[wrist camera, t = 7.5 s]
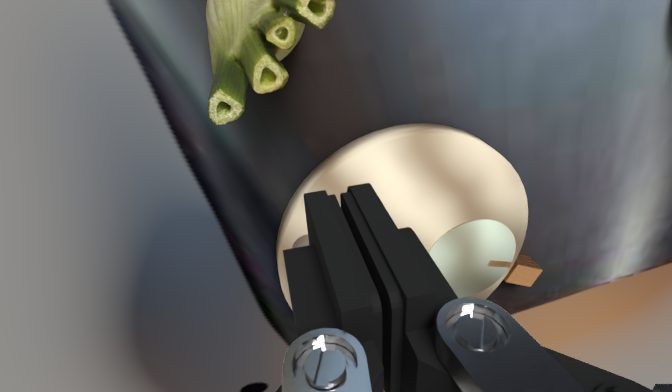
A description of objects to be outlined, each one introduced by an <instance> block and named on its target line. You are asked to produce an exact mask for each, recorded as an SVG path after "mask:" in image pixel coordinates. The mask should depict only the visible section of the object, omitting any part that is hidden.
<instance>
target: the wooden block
mask: <svg viewBox="0 0 672 392" xmlns="http://www.w3.org/2000/svg"><path fill="white" fill-rule="evenodd" d="M541 272H542V269H541V268H540V267H539V266H538V265H537V264H536V263H535V262H534V261H533V260H532V259H531V258H530V257H529V256H526V255H522V254H518V256H517V258H516V260H515V262H514V264H513V266H512V267H511V269H510V271H509V272H508V274H507V275H506V277H505V278H504V281H505V282H508V283H513V284H519V285H524V286H529V287H531V285H532V284H533V283H534V281H535V280H536V279H537V277H538V276H539V274H540V273H541Z"/></svg>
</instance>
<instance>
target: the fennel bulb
mask: <svg viewBox="0 0 672 392" xmlns="http://www.w3.org/2000/svg"><path fill="white" fill-rule="evenodd" d="M335 7H336V6H335V0H208V1H207V6H206V20H207V27H208V40H209V47H210V55H211V63H212V69H213V74H214V77H215V78H214V82H213V85H212V88H211V92H210V95H209V98H208V112H209V118H210V119H211V120H212V122H213V123H214V124H216V125H225V124H226V123H227V122H231V121H233V120H235V121H236V120H237V119H238V118H239V117H240V116H241V115H242V114H243V112H244V110H245V100H246V93H247V87H248V84H249V81H250V84H251V86H252V88H253V89H254V90H255V92H256V93H258V94H264V93H269V92H272V91H275V90H278V89H281V88H283V87H284V85H285V84H286V82H287V81H288V78H289V75H288V73H287V70H286V69H285V68H284V65H283V64H282V63H281V62H279V61H281V60H282V59H283V58H284V57H286V56H287V55H288V54H289V53H290V52H291V51H292V49H293V48H294V47H295V46H296V44H297V43H298V41H299V40H300V38H301V36H302V33H303V30H304V27H305V24H307V25H311V26H313V27H316V28H319V29H322V28H324V27H325V26H326V25H327V23H328V22H329V20H330V19H331V18H332V17H333V15H334V11H335Z"/></svg>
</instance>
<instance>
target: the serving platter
mask: <svg viewBox="0 0 672 392" xmlns="http://www.w3.org/2000/svg"><path fill="white" fill-rule="evenodd" d="M365 183H370V184H371V185H372V187H373V189H374V190H375V192H376V194H377V195H378V197H379V198H380V200H381V202H382V203H383V205H384V207H385V208H386V210H387V211H388V213H389V215H390V216H391V218H392V220H393V221H394V223H395V225H396V226H397V228H398V229H400V228H406V227H410V228H412V230H413V231H414V232H415V233H416V235H417V236H418V238H419V239H420V241H421V242H422V244H423V245H424V247H425V249H426V250H427V252H428V253H429V255H430V256H431V258H432V259H433V261H434V262H435V264H436V265H437V267H438V268H439V270H440V271H441V273H442V274H443V276H444V277H445V279H446V280H447V282H448V283H449V285H450V286H451V288H452V289H453V291H454V292H455V294H456V295H457V297H458V298H463V297H472V298H480V299H484V300H485V299H486V298H487V297H488V296H489V295H490V294H491V293H492V292H493V291H494V290H495V289H496V288H497V287H498V286H499V284H500V283H501V282H502V280H503V279H504V278H505V277H506V275H507V274H508V272H509V271H510V269H511V267H512V266H513V264H514V262H515V260H516V258H517V256H518V254H519V252H520V250H521V247H522V244H523V241H524V238H525V234H526V229H527V223H528V204H527V197H526V193H525V189H524V186H523V184H522V182H521V180H520V177H519V175H518V174H517V172H516V171H515V169H514V168H513V167H512V165H511V164H510V163H509V162H508V161H507V160H506V159H505V158H504V157H503V156H502V155H501V154H499V153H498V152H497V151H495V150H494V149H493V148H491V147H490V146H489V145H487V144H486V143H485V142H483V141H482V140H480V139H479V138H477V137H476V136H474V135H472V134H470V133H467V132H465V131H463V130H461V129H457V128H454V127H450V126H446V125H440V124H431V123H412V124H404V125H398V126H392V127H388V128H385V129H381V130H378V131H374V132H372V133H369V134H367V135H365V136H362V137H360V138H357V139H355V140H354V141H352V142H350V143H348V144H346V145H345V146H343V147H341V148H339V149H338V150H337V151H335V152H334V153H333V154H331V155H330V156H328V157H327V158H326V159H324V160H323V161H322V162H321V163H320V164H319V165H318V166H317V167H316V168H315V169H313V170H312V171H311V172H310V174H309V175H308V176H307V177H306V178H305V179H304V181H303V182H302V183H301V184H300V185H299V187H298V188H297V190H296V191H295V193H294V194H293V196H292V198H291V199H290V201H289V203H288V205H287V207H286V209H285V211H284V214H283V216H282V219H281V223H280V226H279V229H278V236H277V243H276V255H277V264H278V271H279V277H280V282H281V288H282V291H283V293H284V296H285V298H286V301H287V302H288V304H289V306H290V307H291V309H292V304H291V299H290V293H289V287H288V281H287V275H286V268H285V262H284V256H283V250H286V249H291V248H297V247H302V246H308V245H309V239H308V230H307V222H306V213H305V204H304V193H310V192H316V191H322V190H326V192H327V194H328V195H333V194H335V196H336V198H337V200H338V202H339V205H340V207H341V202H340V194H341V193H345V192H347V187H348V186H353V185H359V184H365ZM292 311H293V310H292Z"/></svg>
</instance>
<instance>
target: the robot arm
mask: <svg viewBox="0 0 672 392" xmlns="http://www.w3.org/2000/svg"><path fill="white" fill-rule="evenodd" d="M340 202H341V207H340V205H339V202H338V200H337V198H336V196H335V194H333V195H328V194H327V192H326V190H322V191H316V192H310V193H304V204H305V213H306V222H307V230H308V239H309V245H308V246H302V247H297V248H291V249H286V250H283V256H284V262H285V268H286V275H287V281H288V287H289V293H290V299H291V304H292V310H293V316H294V321H295V327H296V333H297V339H296V340H295V341H294V342H293V343H292V344H291V345H290V347H289V349H288V350H287V352H286V354H285V358H284V362H283V370H282V385H281V386H280V387H279V389H278V390H277V391H276V392H384V391H385V392H672V384H655V386H654V388H653V390H650V389H648V388H646V387H644V386H642V385H640V384H638V383H636V382H634V381H632V380H629V379H626V378H624V377H621V376H618V375H616V374H613V373H611V372H608V371H606V370H603V369H600V368H598V367H595V366H592V365H590V364H587V363H585V362H582V361H579V360H577V359H574V358H571V357H569V356H566V355H564V354H561V353H558V352H556V351H553V350H550V349H548V348H545V347H543V346H541V345H540V344H539V343H538V342H537V341H536V340H535V339H534V338H533V337H532V336H531V335H530V334H529V333H528V332H527V331H526V330H525V329H524V328H523V327H522V326H521V325H520V324H519V323H518V322H517V321H516V320H515V319H514V318H513V317H512V316H511V315H510V314H509V313H508V312H506V311H505V310H504V309H503V308H501V307H500V306H498V305H496V304H494V303H492V302H490V301H488V300H484V299H480V298H472V297H463V298H458V297H457V295H456V294H455V292H454V291H453V289H452V288H451V286H450V285H449V283H448V282H447V280H446V279H445V277H444V276H443V274H442V273H441V271H440V270H439V268H438V267H437V265H436V264H435V262H434V261H433V259H432V258H431V256H430V255H429V253H428V252H427V250H426V249H425V247H424V245H423V244H422V242H421V241H420V239H419V238H418V236H417V235H416V233H415V232H414V231H413V230H412V228H410V227H406V228H400V229H398V228H397V226H396V225H395V223H394V221H393V220H392V218H391V216H390V215H389V213H388V211H387V210H386V208H385V207H384V205H383V203H382V202H381V200H380V198H379V197H378V195H377V194H376V192H375V190H374V189H373V187H372V185H371V184H370V183H365V184H359V185H353V186H348V187H347V192H345V193H341V194H340Z"/></svg>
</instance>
